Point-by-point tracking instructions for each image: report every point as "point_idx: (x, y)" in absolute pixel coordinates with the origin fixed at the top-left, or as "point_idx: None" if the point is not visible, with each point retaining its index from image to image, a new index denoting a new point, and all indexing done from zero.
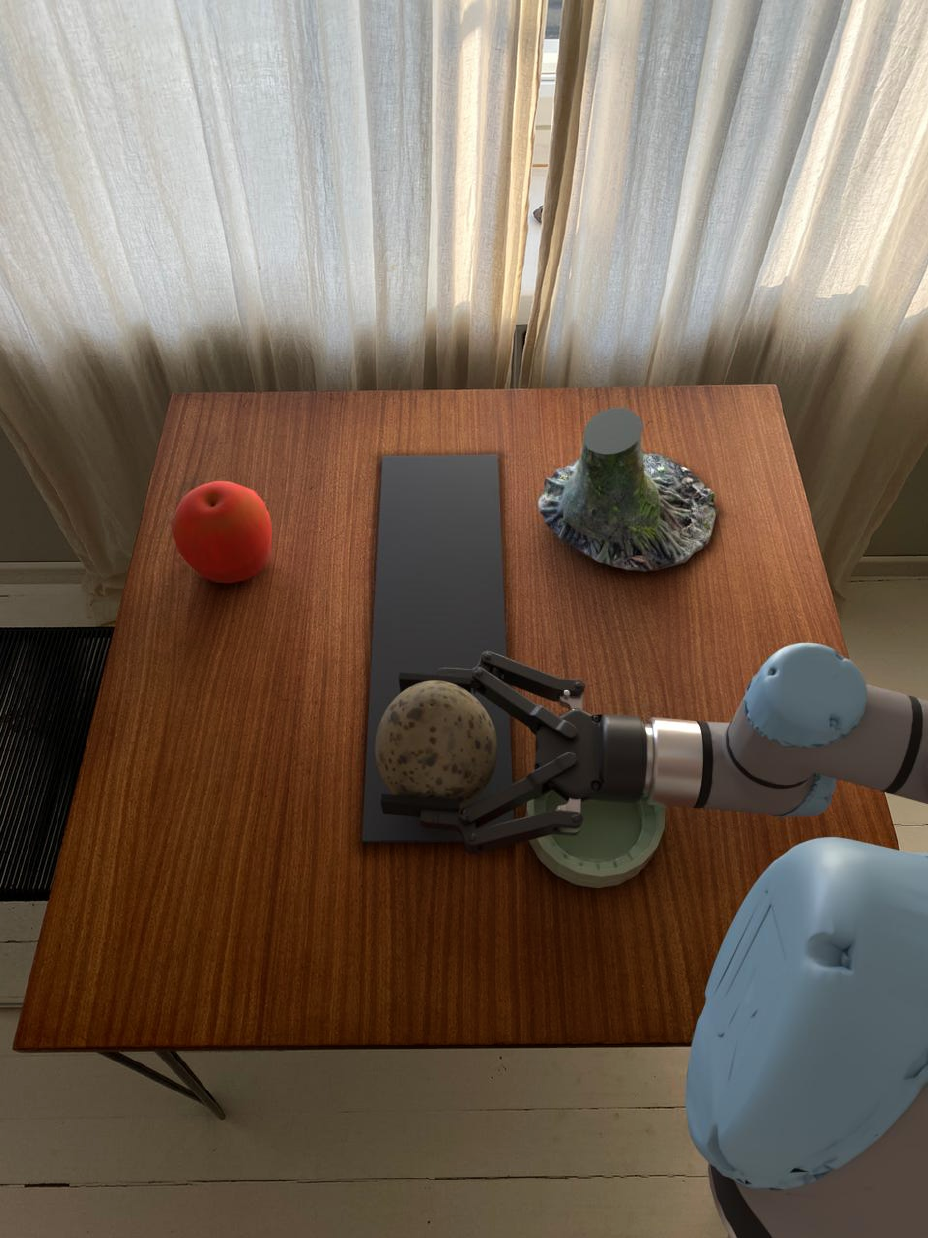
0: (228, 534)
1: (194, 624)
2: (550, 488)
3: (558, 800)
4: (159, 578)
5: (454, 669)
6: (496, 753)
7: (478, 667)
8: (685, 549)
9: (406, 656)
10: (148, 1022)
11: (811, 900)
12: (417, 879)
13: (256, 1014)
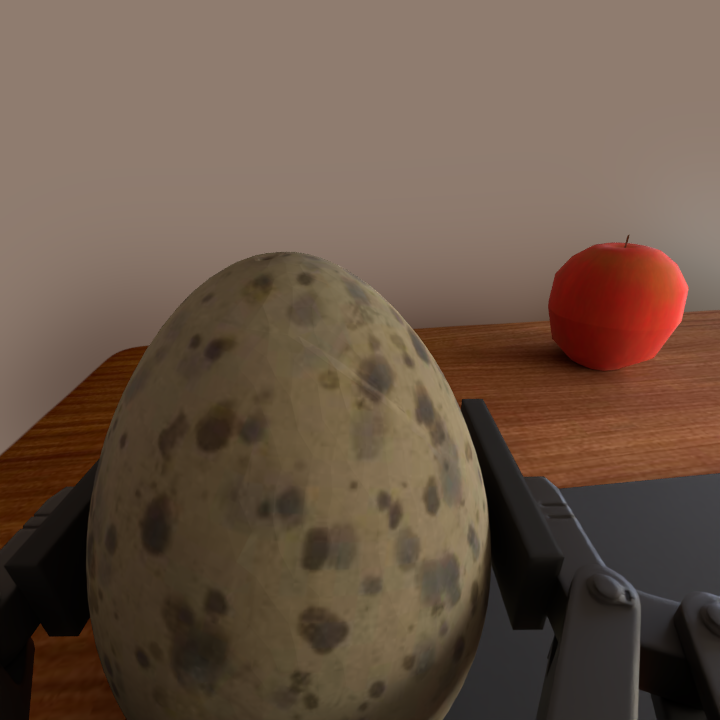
0: (597, 270)
1: (498, 350)
2: None
3: None
4: (533, 329)
5: (570, 517)
6: None
7: (630, 584)
8: None
9: (600, 543)
10: (84, 391)
11: None
12: (93, 641)
13: (24, 455)
